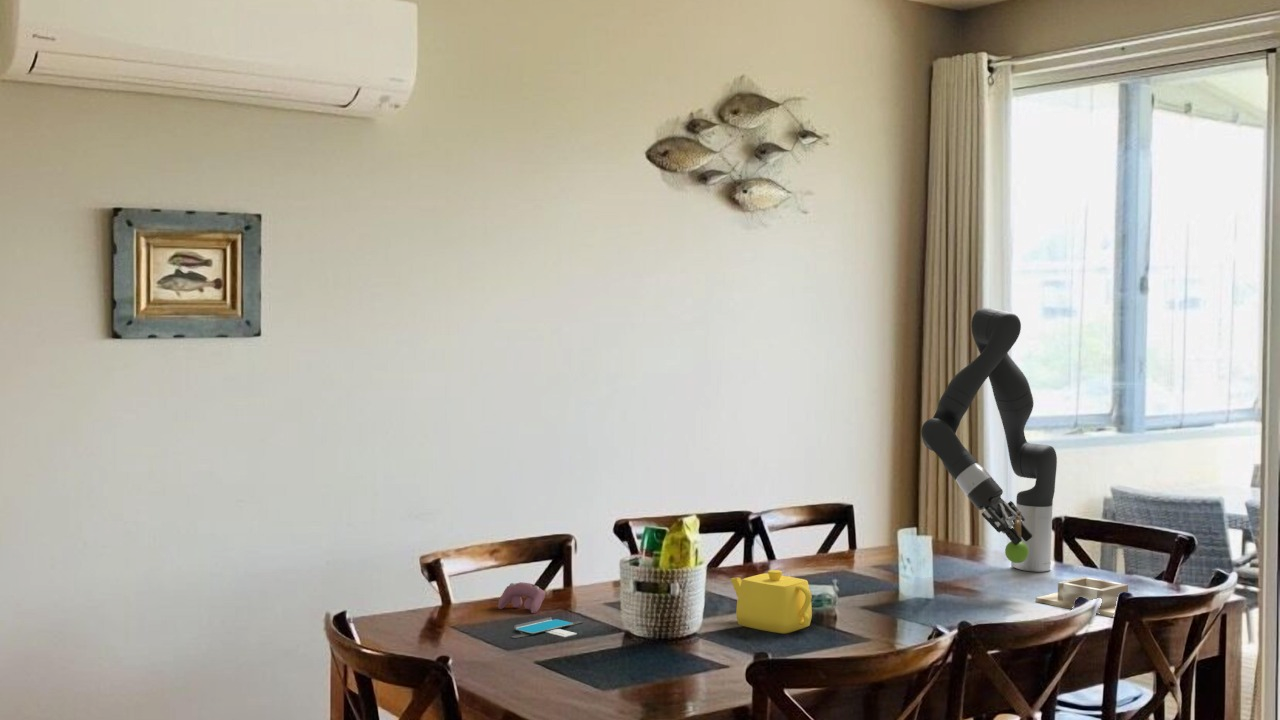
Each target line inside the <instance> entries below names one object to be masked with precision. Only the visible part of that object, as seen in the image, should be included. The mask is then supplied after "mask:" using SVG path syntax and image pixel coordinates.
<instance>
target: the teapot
mask: <svg viewBox="0 0 1280 720" xmlns="http://www.w3.org/2000/svg"><path fill="white" fill-rule="evenodd" d="M730 581H731V583H732V586H733V590H734V591H735V594H736V596H737V600H736V612H735V616H736V620H737V624H738V625H739V626H742V627H746V628H749V629H755V630H760V631H765V632H771V633H776V634H789V633H793V632H796V631H799V630H802V629H806V628H807V627H810V625H811V621H812V616H813V611H812V610H813V608H812V598H813V597H812V593H811V591H810V586H809V581H808V580H807V579H804V578H798V577H793V576H788V575H783V571H781V570H779V569H770V570H768V571H767V573H766V572H765V573H760V574H757V575H752V576H748V577H745V578H742V579H741V577H740V576H739V577H732V578H730Z"/></svg>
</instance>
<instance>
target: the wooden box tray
mask: <svg viewBox="0 0 1280 720" xmlns="http://www.w3.org/2000/svg"><path fill="white" fill-rule="evenodd" d="M1121 592H1128V593H1129V584H1126V583H1120V582H1115V581H1110V580H1105V579H1099V578H1092V577H1087V576H1082V577H1077V578H1073V579H1072V578H1071V579H1068V580H1063V581H1059V582H1058V583H1057V592H1053V593H1050V594H1049V593H1048V594H1046V595H1042V596H1037V597H1035V602H1036V603H1040V604H1045V605H1051V606H1055V607H1059V608H1065V609H1070V608H1072V607H1073V606H1074V601H1075V600H1076V598H1078V597H1085V598H1087V599H1088V600H1093V599H1097V598H1101V599H1102V603H1101V606H1100V608H1099V613H1100V614H1101V615H1100V616H1105V617H1110V618H1114V617H1113V615H1114V612H1115V606H1116V601H1117V597H1118V594H1119V593H1121Z"/></svg>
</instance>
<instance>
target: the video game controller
mask: <svg viewBox="0 0 1280 720" xmlns="http://www.w3.org/2000/svg"><path fill="white" fill-rule="evenodd" d="M522 597H527V598H526V599H525V600H524V602H523V599H522ZM545 598H546V593H545V590H543V589H542V588H540V587H539V586H538V585H536V584H534V583H529V582H517V583H515V582H514V583H513V582H511V583H509V585H508V586H506V588H505V589H504V591H503V592H502V593H501V595H500V598H499V599H498V601H497V602H498V603H497V607H498V610H503V609H504V608H506V607H507V606H508V604H509V603H510V602H511V606H512V607H513V608H515V609H519V608H521V607H522V606H523V607H524V608H525V609H526V610H528V611H530V612H531V614H536V613H537V612H538V611H539V610H540V608H541V606H542V603H543V601H544V600H545Z"/></svg>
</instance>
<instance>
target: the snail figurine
mask: <svg viewBox="0 0 1280 720" xmlns="http://www.w3.org/2000/svg"><path fill="white" fill-rule="evenodd" d="M1018 513H1020V516H1018ZM1021 513H1022V512H1021V511H1020V512H1019V511H1017V517H1016V521H1015V523H1014V522H1013V523H1014V528H1013V527H1012V528H1013V529H1014V530H1015V531H1016V532H1017V533H1018V535H1019V536H1020V537H1021ZM1004 549H1005V550H1004V553H1005V554H1004V555H1005V557H1006V559H1008V561H1010V563H1011V562H1014V563H1021V562H1023V561H1025V560H1026V559H1027V557H1028V554H1029V550H1028V547H1027V545H1026V544H1025V543H1024V542H1022V541H1021V542H1020V543H1019V544H1018V545H1014V544H1013V543H1012V541H1011V540H1010V542H1008V543H1007V544H1006V546H1005V548H1004Z"/></svg>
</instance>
